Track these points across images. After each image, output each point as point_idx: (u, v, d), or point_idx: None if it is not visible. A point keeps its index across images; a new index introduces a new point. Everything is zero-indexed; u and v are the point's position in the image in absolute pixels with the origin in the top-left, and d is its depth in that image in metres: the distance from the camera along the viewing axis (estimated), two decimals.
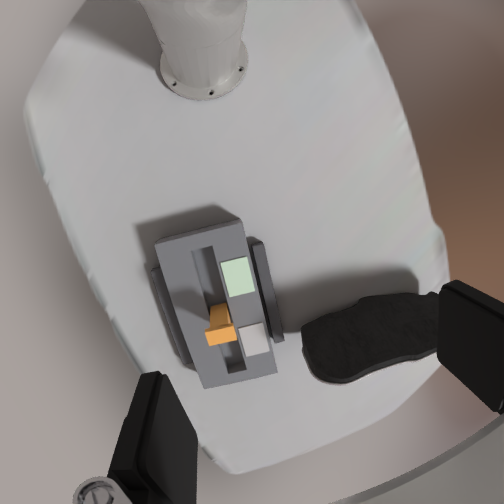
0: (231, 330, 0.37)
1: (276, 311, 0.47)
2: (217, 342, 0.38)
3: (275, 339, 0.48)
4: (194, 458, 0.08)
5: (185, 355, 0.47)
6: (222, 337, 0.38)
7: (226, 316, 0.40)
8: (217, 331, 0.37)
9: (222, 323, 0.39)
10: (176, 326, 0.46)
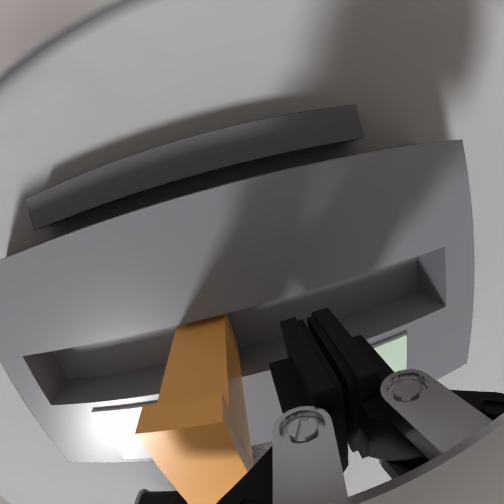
0: None
1: None
2: (166, 463, 0.06)
3: None
4: None
5: (53, 205, 0.12)
6: (197, 477, 0.06)
7: (245, 413, 0.09)
8: (232, 464, 0.06)
9: (246, 440, 0.07)
10: (158, 175, 0.12)
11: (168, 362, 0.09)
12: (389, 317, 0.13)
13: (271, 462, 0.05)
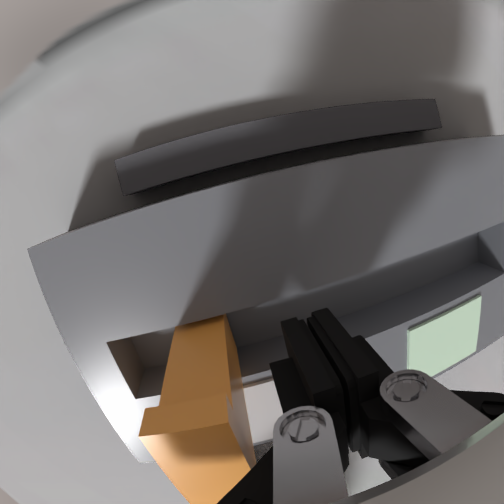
0: None
1: None
2: (170, 466, 0.06)
3: None
4: None
5: (152, 167, 0.12)
6: (201, 479, 0.06)
7: (247, 414, 0.09)
8: (237, 465, 0.06)
9: (249, 441, 0.07)
10: (278, 143, 0.13)
11: (168, 363, 0.09)
12: (464, 282, 0.14)
13: (272, 462, 0.05)
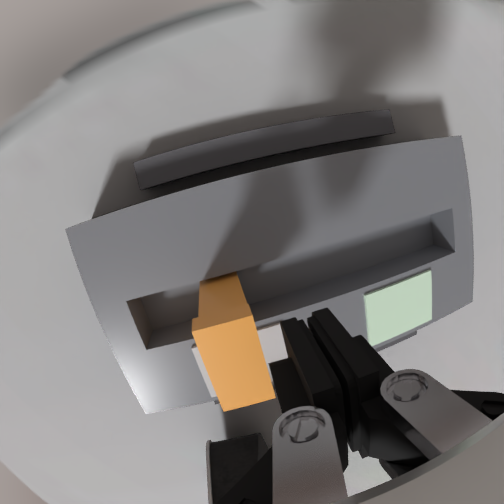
0: (259, 394, 0.10)
1: None
2: (210, 358, 0.10)
3: None
4: None
5: (162, 168, 0.16)
6: (231, 372, 0.10)
7: None
8: (256, 356, 0.10)
9: None
10: (257, 150, 0.17)
11: (199, 302, 0.13)
12: (416, 260, 0.18)
13: (271, 462, 0.05)
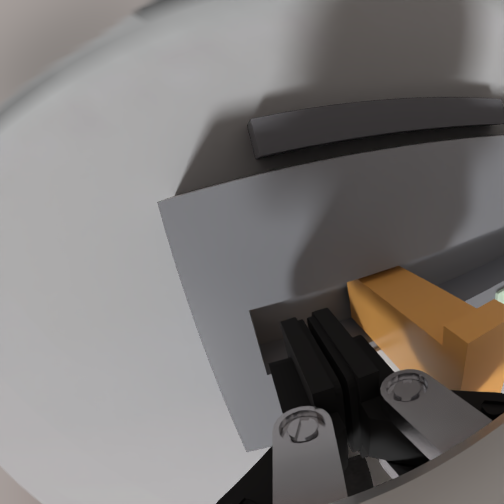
0: None
1: None
2: (469, 376, 0.06)
3: None
4: None
5: (291, 131, 0.12)
6: (478, 388, 0.06)
7: None
8: (503, 363, 0.06)
9: None
10: (399, 123, 0.12)
11: (391, 304, 0.09)
12: None
13: (271, 462, 0.05)
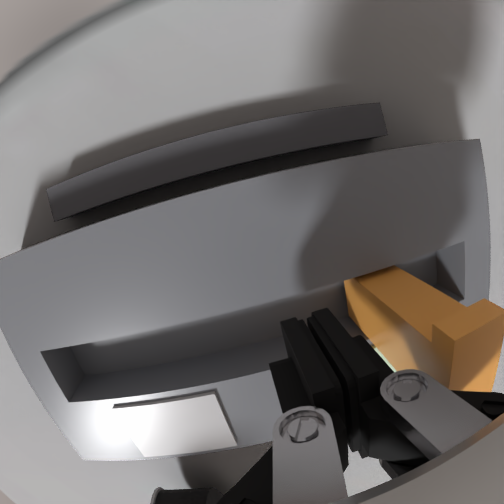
0: None
1: None
2: (458, 373, 0.06)
3: None
4: None
5: (75, 195, 0.12)
6: (468, 386, 0.06)
7: None
8: (493, 361, 0.06)
9: None
10: (188, 166, 0.12)
11: (385, 302, 0.10)
12: None
13: (271, 462, 0.05)
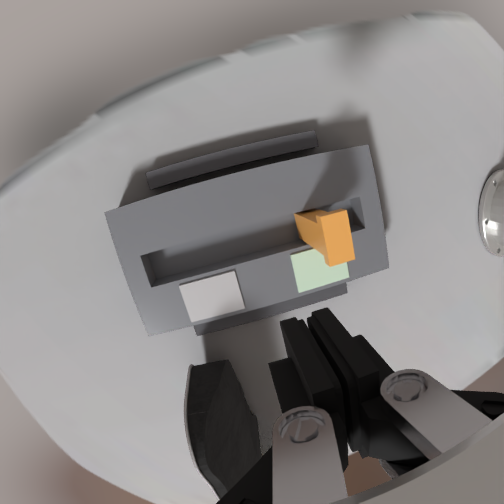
0: (347, 255, 0.21)
1: (248, 320, 0.31)
2: (327, 232, 0.21)
3: None
4: None
5: (163, 176, 0.27)
6: (335, 240, 0.21)
7: None
8: (347, 232, 0.21)
9: None
10: (221, 164, 0.27)
11: (306, 218, 0.25)
12: None
13: (271, 462, 0.05)
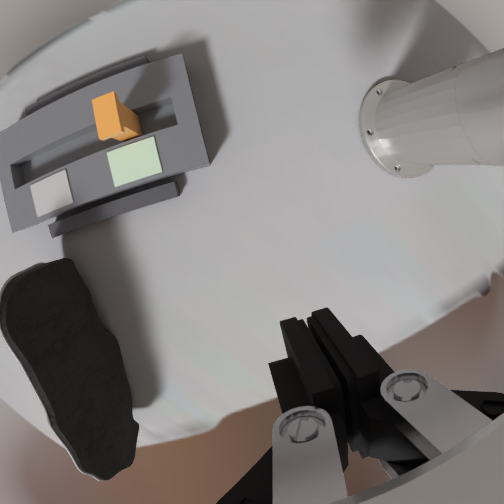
0: (114, 128, 0.21)
1: (88, 222, 0.31)
2: (96, 110, 0.21)
3: (53, 225, 0.30)
4: None
5: (35, 108, 0.27)
6: (103, 116, 0.21)
7: (130, 128, 0.24)
8: (114, 108, 0.21)
9: (123, 118, 0.23)
10: (72, 92, 0.27)
11: None
12: None
13: (271, 462, 0.05)
